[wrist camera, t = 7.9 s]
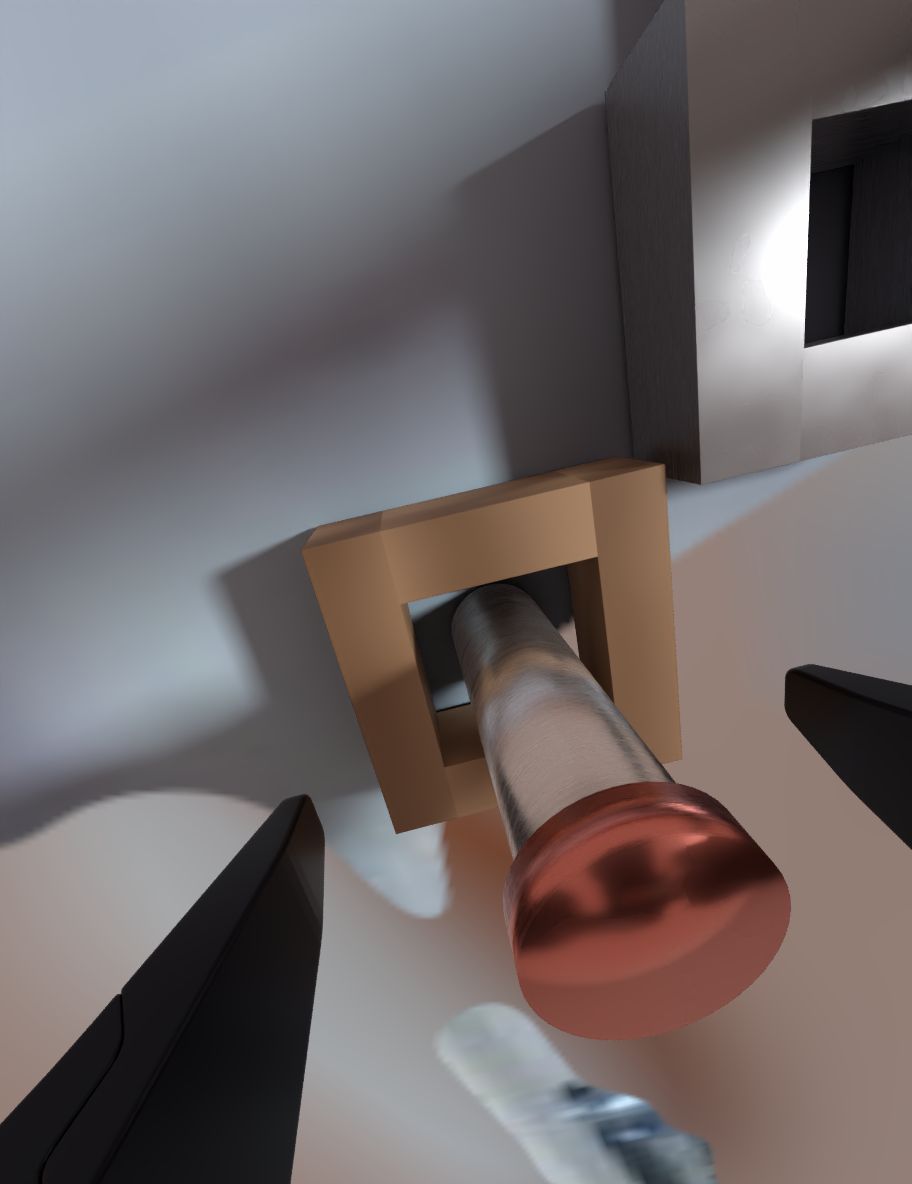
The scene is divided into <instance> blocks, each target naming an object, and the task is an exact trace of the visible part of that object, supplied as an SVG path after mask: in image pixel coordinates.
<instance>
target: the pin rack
mask: <svg viewBox="0 0 912 1184" xmlns="http://www.w3.org/2000/svg"><path fill="white" fill-rule="evenodd" d="M301 553H302V556H303V559H304V562H305V565H306V568H307V571H308V574H309V577H310V580H311V583H312V585H313V588H314V591H315V594H316V597H317V600H318V603H319V606H320V609H321V612H322V615H323V618H324V621H325V624H326V627H327V630H328V633H329V636H330V639H331V642H332V645H333V648H334V651H335V654H336V657H337V660H338V663H339V666H340V669H341V672H342V675H343V678H344V681H345V684H346V687H347V690H348V692H349V695H350V698H351V701H352V704H353V707H354V710H355V713H356V716H357V719H358V722H359V725H360V728H361V731H362V734H363V737H364V740H365V743H366V746H367V749H368V752H369V755H370V758H371V761H372V764H373V767H374V770H375V773H376V776H377V779H378V782H379V785H380V788H381V791H382V794H383V797H384V799H385V802H386V805H387V808H388V811H389V814H390V817H391V820H392V823H393V826H394V829H395V832H396V834H399V833H402V832H406V831H410V830H414V829H418V828H421V827H425V826H429V825H433V824H437V823H440V822H444V821H448V820H452V819H455V818H459V817H463V816H467V815H471V814H475V813H478V812H482V811H486V810H490V809H494V808H498V807H499V805H498V801H497V797H496V794H495V790H494V787H493V783H492V779H491V776H490V772H489V768H488V765H487V761H486V757H485V754H484V750H483V746H482V743H481V739H480V735H479V732H478V728H477V724H476V721H475V717H474V713H473V710H472V706H471V704H470V705H466V706H462V707H458V708H454V709H450V710H446V711H442V712H438V713H436V709H435V706H434V702H433V698H432V694H431V691H430V687H429V683H428V679H427V676H426V672H425V668H424V664H423V661H422V657H421V653H420V649H419V646H418V642H417V638H416V634H415V631H414V627H413V623H412V619H411V616H410V612H409V608H408V604H407V603H408V602H412V601H417V600H421V599H425V598H429V597H433V596H437V595H441V594H445V593H450V592H454V591H458V590H462V589H466V588H470V587H474V586H478V585H482V584H487V583H491V582H495V581H499V580H503V579H507V578H511V577H515V576H520V575H524V574H528V573H532V572H536V571H540V570H544V569H548V568H553V567H557V566H561V565H565V564H567V571H568V578H569V585H570V593H571V600H572V607H573V614H574V621H575V629H576V636H577V643H578V650H579V657H580V661H581V662H582V663H583V665H584V666H585V667H586V668H587V670H588V671H589V672H590V673H591V675H592V676H593V677H594V679H595V680H596V681H597V682H598V684H599V685H600V686H601V688H602V689H603V690H604V691H605V693H606V694H607V695H608V697H609V698H610V699H611V700H612V702H613V703H614V704H615V706H616V707H617V708H618V709H619V711H620V712H621V713H622V714H623V716H624V717H625V718H626V720H627V721H628V722H629V723H630V725H631V726H632V727H633V729H634V730H635V731H636V732H637V734H638V735H639V736H640V738H641V739H642V740H643V741H644V743H645V744H646V745H647V746H648V748H649V749H650V750H651V752H652V753H653V754H654V755H655V757H656V758H657V759H658V761H659V762H660V763H661V764H665V763H669V762H673V761H677V760H680V759H682V745H681V728H680V713H679V694H678V678H677V661H676V645H675V627H674V610H673V595H672V576H671V559H670V542H669V525H668V508H667V492H666V475H665V464H660V463H654V462H648V461H641V460H635V459H629V458H623V457H616V456H615V457H611V458H607V459H602V460H598V461H594V462H590V463H585V464H581V465H577V466H573V467H568V468H564V469H560V470H555V471H551V472H547V473H543V474H538V475H534V476H530V477H526V478H521V479H517V480H513V481H509V482H504V483H500V484H496V485H491V486H487V487H483V488H479V489H474V490H470V491H466V492H462V493H457V494H453V495H449V496H445V497H440V498H436V499H432V500H427V501H423V502H419V503H415V504H410V505H406V506H402V507H398V508H393V509H389V510H385V511H381V512H376V513H372V514H368V515H364V516H359V517H355V518H351V519H346V520H342V521H338V522H334V523H329V524H325V525H321V526H318V527H317V528H316V530H315V531H314V532H313V534H312V535H311V537H310V538H309V539H308V541H307V542H306V543H305V545H304V546H303V548H302V549H301Z"/></svg>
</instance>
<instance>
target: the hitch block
mask: <svg viewBox="0 0 912 1184" xmlns="http://www.w3.org/2000/svg"><path fill="white" fill-rule="evenodd" d="M605 100H606V113H607V125H608V138H609V150H610V163H611V175H612V187H613V200H614V212H615V225H616V237H617V250H618V262H619V275H620V287H621V299H622V312H623V324H624V337H625V349H626V362H627V374H628V386H629V399H630V411H631V424H632V436H633V449H634V459H635V460H641V461H648V462H654V463H660V464H665V475H666V478H671V479H676V480H681V481H686V482H691V483H695V484H700V485H702V484H706V483H711V482H715V481H719V480H723V479H727V478H732V477H736V476H740V475H744V474H748V473H753V472H757V471H761V470H765V469H769V468H774V467H778V466H782V465H786V464H790V463H794V462H799V461H803V460H807V459H811V458H815V457H820V456H824V455H828V454H832V453H836V452H841V451H845V450H849V449H853V448H857V447H861V446H866V445H870V444H874V443H878V442H882V441H886V440H891V439H895V438H899V437H903V436H908V435H912V0H664V1H663V2H662V4H661V5H660V7H659V9H658V10H657V12H656V13H655V15H654V16H653V18H652V19H651V21H650V23H649V24H648V26H647V27H646V29H645V30H644V32H643V34H642V35H641V37H640V38H639V40H638V41H637V43H636V44H635V46H634V48H633V49H632V51H631V52H630V54H629V55H628V57H627V58H626V60H625V62H624V63H623V65H622V66H621V68H620V69H619V71H618V72H617V74H616V76H615V77H614V79H613V80H612V82H611V83H610V85H609V87H608V88H607V90H606V91H605ZM853 164H854V179H853V195H852V212H851V228H850V244H849V260H848V277H847V293H846V309H845V325H844V335H840V336H836V337H831V338H827V339H823V340H818V341H814V342H809V343H805V344H804V330H805V302H806V274H807V246H808V218H809V191H810V174H811V173H815V172H820V171H825V170H829V169H834V168H839V167H843V166H848V165H853Z"/></svg>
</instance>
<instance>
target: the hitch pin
mask: <svg viewBox="0 0 912 1184" xmlns="http://www.w3.org/2000/svg"><path fill="white" fill-rule="evenodd" d="M452 636H453V640H454V644H455V647H456V651H457V655H458V658H459V662H460V666H461V669H462V673H463V677H464V680H465V684H466V688H467V691H468V695H469V699H470V702H471V706H472V710H473V713H474V717H475V721H476V724H477V728H478V732H479V735H480V739H481V743H482V746H483V750H484V754H485V757H486V761H487V765H488V768H489V772H490V776H491V779H492V783H493V787H494V790H495V794H496V797H497V801H498V805H499V808H500V812H501V816H502V819H503V823H504V827H505V830H506V834H507V838H508V841H509V845H510V849H511V852H512V856H513V860H514V861H513V863H512V865H511V867H510V869H509V872H508V874H507V877H506V880H505V885H504V890H503V910H504V916H505V921H506V926H507V930H508V935H509V939H510V944H511V948H512V953H513V957H514V961H515V966H516V970H517V975H518V979H519V984H520V987H521V990H522V993H523V995H524V997H525V999H526V1001H527V1002H528V1004H529V1006H530V1007H531V1008H532V1009H533V1011H535V1013H536V1014H537V1015H538V1016H539V1017H540V1018H542V1019H543V1020H544V1021H546V1022H547V1023H548V1024H550V1025H552V1026H554V1027H555V1028H558V1029H559V1030H561V1031H564V1032H567V1033H569V1034H572V1035H576V1036H580V1037H584V1038H589V1039H598V1040H628V1039H637V1038H644V1037H650V1036H654V1035H658V1034H662V1033H665V1032H669V1031H672V1030H675V1029H678V1028H681V1027H684V1026H686V1025H688V1024H691V1023H693V1022H695V1021H698V1020H700V1019H702V1018H704V1017H705V1016H708V1015H709V1014H711V1013H713V1012H715V1011H716V1010H718V1009H720V1008H721V1007H723V1006H725V1005H726V1004H728V1003H729V1002H730V1001H732V1000H733V999H734V998H736V997H737V996H738V995H740V994H741V993H742V992H743V991H744V990H746V989H747V988H748V987H749V986H750V985H751V984H752V983H753V982H754V981H755V980H756V979H757V978H758V977H759V976H760V975H761V974H762V973H763V971H764V970H765V969H766V967H767V966H768V965H769V964H770V962H771V961H772V960H773V958H774V956H775V955H776V953H777V952H778V950H779V948H780V946H781V944H782V942H783V939H784V937H785V935H786V932H787V928H788V925H789V919H790V911H791V905H790V904H791V903H790V894H789V890H788V886H787V884H786V882H785V880H784V877H783V875H782V874H781V872H780V871H779V869H778V868H777V867H776V866H775V864H774V863H773V862H772V861H771V859H770V858H769V857H768V856H767V855H766V854H765V852H764V851H763V850H762V849H761V848H760V847H759V846H758V844H757V843H756V842H755V841H754V840H753V839H752V837H751V836H750V835H749V834H748V833H747V832H746V830H745V829H744V828H743V827H742V826H741V825H740V823H739V822H738V821H737V820H736V819H735V818H734V816H733V815H732V814H731V813H730V812H729V811H728V809H727V808H725V807H724V806H723V805H722V804H721V803H720V802H719V801H718V800H716V799H715V798H713V797H712V796H710V795H708V794H707V793H705V792H702V791H700V790H698V789H695V788H693V787H689V786H686V785H682V784H676V782H675V781H674V780H673V779H672V778H671V776H670V775H669V773H668V772H667V771H666V770H665V768H664V767H663V766H662V764H661V763H660V762H659V761H658V759H657V758H656V757H655V755H654V754H653V753H652V752H651V750H650V749H649V748H648V746H647V745H646V744H645V743H644V741H643V740H642V739H641V738H640V736H639V735H638V734H637V732H636V731H635V730H634V729H633V727H632V726H631V725H630V723H629V722H628V721H627V720H626V718H625V717H624V716H623V714H622V713H621V712H620V711H619V709H618V708H617V707H616V706H615V704H614V703H613V702H612V700H611V699H610V698H609V697H608V695H607V694H606V693H605V691H604V690H603V689H602V688H601V686H600V685H599V684H598V682H597V681H596V680H595V679H594V677H593V676H592V675H591V673H590V672H589V671H588V670H587V668H586V667H585V666H584V665H583V663H582V662H581V661H580V659H579V658H578V657H577V656H576V654H575V653H574V652H573V650H572V649H571V648H570V647H569V645H568V644H567V643H566V642H565V640H564V639H563V638H562V636H561V635H560V634H559V632H558V631H557V630H556V629H555V627H554V626H553V625H552V624H551V622H550V621H549V620H548V618H547V617H546V616H545V615H544V613H543V612H542V611H541V609H540V608H539V607H538V606H537V604H536V603H535V602H534V600H533V599H532V598H531V597H530V596H529V595H528V594H527V593H526V592H525V591H523V590H522V589H520V588H518V587H515V586H512V585H508V584H490V585H486V586H483V587H481V588H478V589H476V590H475V591H473V592H471V593H470V594H469V595H468V596H466V597H465V598H464V599H463V600H462V602H461V603H460V604H459V606H458V608H457V609H456V611H455V614H454V617H453V620H452Z"/></svg>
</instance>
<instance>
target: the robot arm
mask: <svg viewBox="0 0 912 1184" xmlns="http://www.w3.org/2000/svg"><path fill="white" fill-rule="evenodd" d="M784 705H785V711H786V713H787V716H788V717H789V719H790V720H791V722H792V723H793V724H794V725H795V726H796V727H797V728H798V730H799V731H800V732H801V733H802V735H803V736H804V737H805V738H806V739H807V740H808V741H809V743H810V744H811V745H812V746H813V747H814V748H815V750H816V751H817V752H818V753H819V754H820V755H821V757H822V758H823V759H824V760H825V761H826V762H827V764H828V765H829V766H830V767H831V768H832V769H833V771H834V772H835V773H836V774H837V775H838V776H839V778H840V779H841V780H842V781H843V782H844V783H845V784H846V785H847V786H848V787H849V789H850V790H851V791H852V792H853V793H854V794H855V795H856V796H857V797H858V798H859V799H860V800H861V801H862V802H863V803H864V804H865V805H866V806H867V807H868V808H870V810H871V811H872V812H874V814H875V815H877V816H878V817H879V818H880V819H881V820H882V821H883V822H884V823H885V824H886V825H887V826H888V827H889V828H890V829H891V830H892V831H893V832H894V833H895V834H896V835H897V836H898V837H899V838H900V839H901V840H902V841H903V842H904V843H905V844H906V845H907V846H908V847H910V849H911V850H912V685H907V684H902V683H898V682H893V681H889V680H884V679H879V678H875V677H870V676H865V675H861V674H856V673H851V672H847V671H842V670H838V669H833V668H828V667H823V666H819V665H814V664H807V665H803V666H799V667H796V668H792V669H790V670H788V671H787V673H786V676H785V704H784ZM324 855H325V837H324V831H323V827H322V825H321V822H320V820H319V817H318V815H317V812H316V810H315V807H314V805H313V803H312V800H311V798H310V797H309V796H308V795H306V794H302V795H298V796H294V797H290V798H287V799H285V800H283V801H282V802H281V803H280V805H279V806H278V807H277V808H276V809H275V810H274V812H273V813H272V814H271V815H270V816H269V818H268V819H267V820H266V821H265V822H264V823H263V824H262V826H261V827H260V828H259V829H258V830H257V831H256V833H255V834H254V835H253V836H252V837H251V838H250V840H249V841H248V842H247V843H246V844H245V845H244V847H243V848H242V849H241V850H240V851H239V853H238V854H237V855H236V856H235V857H234V858H233V859H232V861H231V862H230V863H229V864H228V865H227V866H226V868H225V869H224V870H223V871H222V872H221V874H220V875H219V876H218V877H217V878H216V879H215V880H214V882H213V883H212V884H211V885H210V886H209V887H208V889H207V890H206V891H205V892H204V893H203V894H202V896H201V897H200V898H199V899H198V901H197V902H196V903H195V904H194V905H193V906H192V907H191V909H190V910H189V911H188V912H187V913H186V915H184V917H183V918H182V919H181V920H180V922H179V923H178V924H177V925H176V926H175V927H174V928H173V929H172V931H171V932H170V933H169V934H168V935H167V936H166V938H165V939H164V940H163V941H162V943H161V944H160V945H159V946H158V947H157V948H156V949H155V951H154V952H153V953H152V954H151V955H150V956H149V957H148V959H147V960H146V961H145V962H144V963H143V965H142V966H141V967H140V968H139V969H138V970H137V972H136V973H135V974H134V975H133V976H132V977H131V978H130V980H129V981H128V982H127V983H126V984H125V986H124V987H123V988H122V990H121V994H117V995H116V996H115V997H114V998H113V999H112V1000H111V1002H110V1003H109V1004H108V1005H107V1006H106V1007H105V1009H104V1010H103V1011H102V1012H101V1013H100V1014H99V1016H98V1017H97V1018H96V1019H95V1020H94V1021H93V1023H92V1024H91V1025H90V1026H89V1027H88V1028H87V1029H86V1031H85V1032H84V1033H83V1034H82V1035H81V1036H80V1037H79V1038H78V1040H77V1041H76V1042H75V1043H74V1044H73V1045H72V1047H71V1048H70V1049H69V1050H68V1051H67V1052H66V1053H65V1054H64V1056H63V1057H62V1058H61V1059H60V1060H59V1061H58V1062H57V1063H56V1065H55V1066H54V1067H53V1068H52V1069H51V1070H50V1071H49V1072H48V1073H47V1075H46V1076H45V1077H44V1078H43V1079H42V1080H41V1081H40V1082H39V1083H38V1084H37V1085H36V1086H35V1087H34V1089H33V1090H32V1091H31V1092H30V1093H29V1094H28V1095H27V1096H26V1097H25V1098H24V1099H23V1100H22V1101H21V1103H20V1104H19V1105H18V1106H17V1107H16V1108H15V1109H14V1110H13V1111H12V1112H11V1113H10V1115H9V1116H8V1117H7V1118H6V1119H5V1120H4V1121H3V1122H2V1123H1V1124H0V1184H291V1175H292V1168H293V1160H294V1152H295V1144H296V1136H297V1128H298V1121H299V1113H300V1105H301V1098H302V1090H303V1082H304V1074H305V1066H306V1059H307V1050H308V1043H309V1034H310V1027H311V1019H312V1011H313V1004H314V995H315V988H316V980H317V972H318V965H319V957H320V949H321V939H322V929H323V899H324Z"/></svg>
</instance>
